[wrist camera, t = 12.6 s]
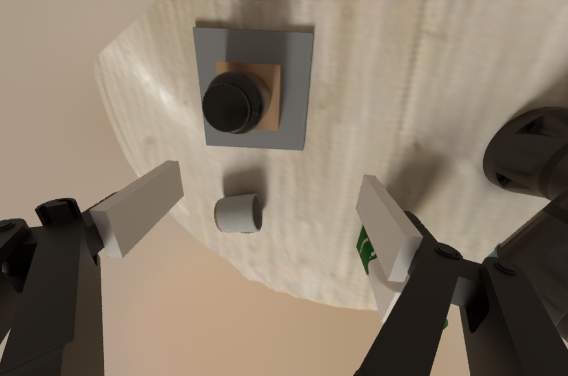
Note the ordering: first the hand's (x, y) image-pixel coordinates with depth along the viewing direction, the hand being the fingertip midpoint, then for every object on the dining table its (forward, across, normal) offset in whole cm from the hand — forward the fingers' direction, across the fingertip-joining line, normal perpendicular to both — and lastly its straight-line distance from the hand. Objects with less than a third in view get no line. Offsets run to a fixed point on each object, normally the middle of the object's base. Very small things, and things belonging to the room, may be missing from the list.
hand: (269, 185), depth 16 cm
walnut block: (+25, +6, -4) cm, 26 cm away
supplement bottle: (+21, +6, -4) cm, 22 cm away
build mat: (+26, +6, -4) cm, 27 cm away
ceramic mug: (+27, +8, +19) cm, 34 cm away
